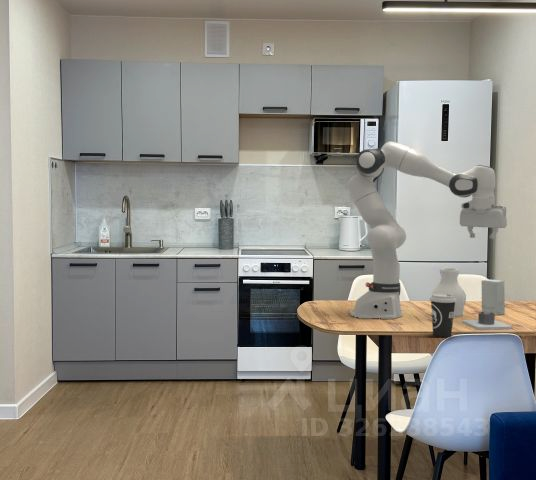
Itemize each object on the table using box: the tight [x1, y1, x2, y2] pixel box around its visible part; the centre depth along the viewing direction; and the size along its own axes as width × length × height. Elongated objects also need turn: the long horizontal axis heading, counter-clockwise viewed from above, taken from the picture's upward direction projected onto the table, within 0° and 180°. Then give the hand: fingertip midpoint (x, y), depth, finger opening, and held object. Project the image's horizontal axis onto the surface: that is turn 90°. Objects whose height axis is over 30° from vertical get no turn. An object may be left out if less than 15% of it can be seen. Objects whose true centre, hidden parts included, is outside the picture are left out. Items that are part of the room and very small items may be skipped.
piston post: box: [461, 310, 513, 331], centre depth 257 cm, size 14×14×6 cm
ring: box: [477, 311, 496, 325], centre depth 257 cm, size 6×6×4 cm
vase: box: [431, 267, 467, 318], centre depth 281 cm, size 14×14×20 cm
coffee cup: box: [429, 293, 456, 338], centre depth 239 cm, size 10×10×15 cm
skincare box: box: [481, 278, 506, 316], centre depth 285 cm, size 8×6×15 cm
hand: (482, 238), depth 267 cm, fingers open, 8 cm apart
